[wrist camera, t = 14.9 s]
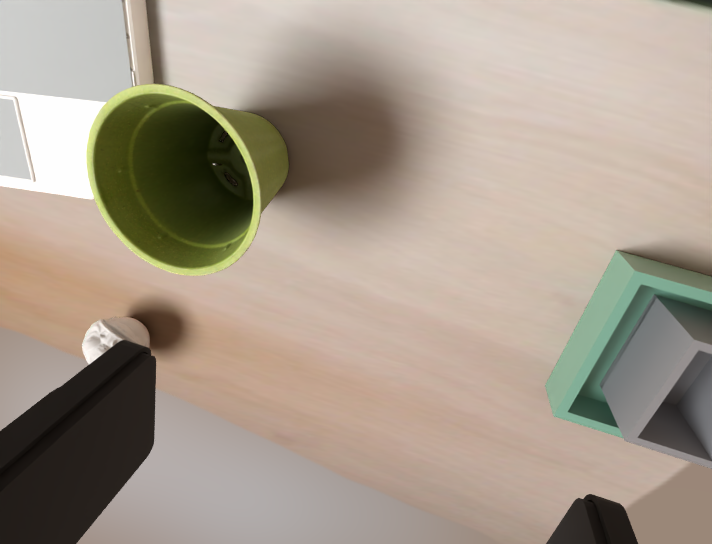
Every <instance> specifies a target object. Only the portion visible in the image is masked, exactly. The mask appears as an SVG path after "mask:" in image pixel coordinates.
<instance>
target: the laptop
mask: <svg viewBox="0 0 712 544" xmlns="http://www.w3.org/2000/svg"><path fill="white" fill-rule="evenodd" d="M143 84H154V78H153V68H152V59H151V49H150V39H149V29H148V20H147V10H146V0H0V186H5V187H11V188H18V189H25V190H32V191H39V192H45V193H52V194H59V195H66V196H72V197H79V198H85V199H91V200H92V199H93V198H94V196H93V193H92V191H91V187H90V183H89V178H88V172H87V164H86V151H87V142H88V138H89V132H90V129H91V126H92V124H93V121H94V119H95V118H96V116H97V114H98V112H99V111H100V109H101V108H102V107H103V106H104V105H105V104H106V103H107V101H108V100H110V99H111V98H112V97H113V96H115V95H116V94H118V93H119V92H121V91H123V90H125V89H128V88H131V87H133V86H137V85H143Z"/></svg>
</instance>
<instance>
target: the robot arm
mask: <svg viewBox="0 0 712 544" xmlns="http://www.w3.org/2000/svg"><path fill="white" fill-rule="evenodd" d="M155 385H156V358H155V357H154V356H151V350H150V349H149V348H148V347H145V346H142V345H139V344H136V343H133V342H130V341H127V340H121V341H119V342H118V343H116V344H115V345H114V346H112V347H111V348H110V349H109V350H107V351H106V352H105V353H103V354H102V355H101V356H100V357H98V358H97V359H96V360H94V361H93V362H92V363H91V364H89V365H88V366H87V367H85V368H84V369H83V370H82V371H80V372H79V373H78V374H77V375H75V376H74V377H73V378H71V379H70V380H69V381H68V382H66V383H65V384H64V385H63V386H61V387H59V388H57V389H56V390H54V391H52V392H51V393H49V394H48V395H47V396H45V397H44V398H43V399H41V400H40V401H39V402H37V403H36V404H35V405H34V406H32V407H31V408H30V409H28V410H27V411H26V412H25V413H23V414H22V415H21V416H19V417H18V418H17V419H15V420H14V421H13V422H12V423H10V424H9V425H8V426H7V427H5V428H4V429H2V430H1V431H0V544H76V543H77V542H78V541H79V540H80V538H81V537H82V536H83V535H84V533H85V532H86V531H87V530H88V529H89V527H90V526H91V525H92V524H93V522H94V521H95V520H96V519H97V517H98V516H99V515H100V514H101V513H102V511H103V510H104V509H105V508H106V507H107V505H108V504H109V503H110V502H111V501H112V499H113V498H114V497H115V495H116V494H117V493H118V492H119V491H120V489H121V488H122V487H123V486H124V485H125V483H126V482H127V481H128V480H129V479H130V477H131V476H132V475H133V474H134V472H135V471H136V470H137V469H138V468H139V466H140V465H141V464H142V462H143V461H144V460H145V459H146V458H147V456H148V455H149V453H150V451H151V449H152V447H153V444H154V426H155ZM546 544H638V542H637V539H636V537H635V534H634V532H633V529H632V526H631V524H630V521H629V519H628V516H627V513H626V511H625V509H624V507H623V506H622V505H621V504H619V503H616V502H613V501H610V500H607V499H604V498H601V497H598V496H595V495H592V494H589V495H586V496H585V498H584V499H580V498H578V499H576V500H575V501H574V503H573V504H572V506H571V507H570V509H569V510H568V512H567V513H566V515H565V516H564V518H563V519H562V521H561V522H560V524H559V525H558V527H557V528H556V530H555V531H554V533H553V534H552V536H551V537H550V539H549V540H548V542H547V543H546Z"/></svg>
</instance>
